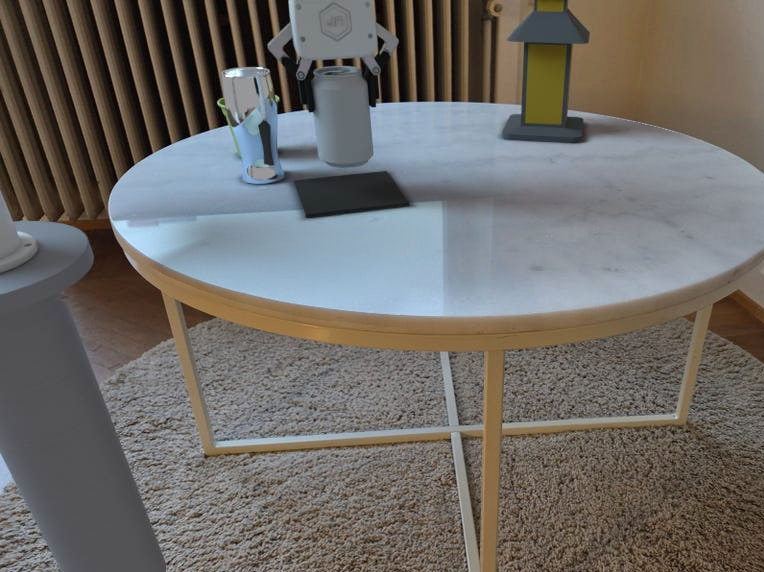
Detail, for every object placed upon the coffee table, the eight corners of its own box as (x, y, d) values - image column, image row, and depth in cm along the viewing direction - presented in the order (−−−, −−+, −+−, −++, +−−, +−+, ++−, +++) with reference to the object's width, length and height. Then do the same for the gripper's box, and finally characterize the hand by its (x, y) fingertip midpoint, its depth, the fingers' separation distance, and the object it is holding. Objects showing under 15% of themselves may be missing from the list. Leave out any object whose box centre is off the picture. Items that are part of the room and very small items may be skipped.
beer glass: (234, 185, 99) (212, 76, 91) (246, 170, 105) (226, 66, 97) (282, 185, 99) (264, 76, 91) (291, 170, 105) (276, 66, 97)
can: (337, 150, 98) (327, 61, 91) (383, 156, 96) (376, 65, 89) (308, 166, 92) (295, 72, 86) (357, 172, 90) (347, 77, 83)
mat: (306, 217, 89) (305, 214, 89) (293, 183, 100) (293, 180, 100) (409, 205, 93) (409, 202, 93) (386, 173, 104) (386, 170, 104)
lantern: (581, 143, 118) (599, -59, 102) (501, 139, 120) (506, -60, 103) (583, 122, 130) (599, -62, 113) (510, 118, 132) (516, -63, 115)
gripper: (250, -44, 75) (276, 120, 85) (404, -47, 80) (411, 109, 89) (246, -48, 81) (271, 106, 91) (389, -50, 85) (398, 96, 95)
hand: (341, 106), depth 90 cm, fingers closed on can, 7 cm apart
